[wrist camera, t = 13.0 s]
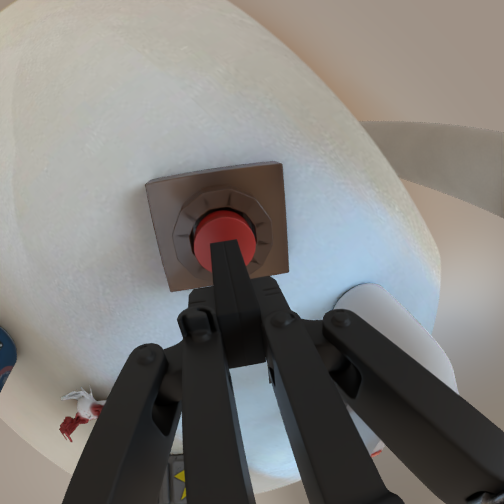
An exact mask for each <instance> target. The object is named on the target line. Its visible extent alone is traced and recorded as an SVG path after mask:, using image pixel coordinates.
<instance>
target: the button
mask: <svg viewBox="0 0 504 504" xmlns="http://www.w3.org/2000/svg"><path fill="white" fill-rule="evenodd" d="M234 239H237V241H238V244H239V247H240V250H241V253H242V256H243V259H244V262H245V265H246V266H247V265H248V264H249V262H250V261H251V260H252V258H253V256H254V253H255V248H256V242H255V237H254V234H253V232H252V230H251V228H250V226H249V224H248V223H247V221H246V220H245V219H244V218H243V217H242V216H240V215H239V214H237V213H235V212H232V211H227V210H221V211H215V212H213V213H210V214H208V215H207V216H206V217H204V218H203V219H202V220H201V221H200V223H199V224H198V226H197V228H196V231H195V237H194V253H195V256H196V258H197V260H198V262H199V263H200V264H201V266H202V267H204V268H205V269H206V270H208V271H210V272H212V265H211V253H210V243H215V242H222V241H228V240H234Z"/></svg>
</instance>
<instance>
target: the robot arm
mask: <svg viewBox="0 0 504 504" xmlns="http://www.w3.org/2000/svg"><path fill="white" fill-rule="evenodd" d="M210 253H211V265H212V276H213V286H210V287H204V288H198V289H193V291H192V292H191V293H190V295H189V302H188V303H189V304H188V308H187V309H185V310H184V311H182V312H181V313H180V314H179V316H178V318H177V321H178V324H179V327H180V330H181V333H182V336H183V340H182V341H181V342H179V343H178V344H176V345H174V346H172V347H169V348H166V349H164V350H163V348H162V347H161V346H159V345H158V344H153V343H149V344H144V345H141V346H138V347H137V348H136V349H134V350H133V351H132V352H131V354H130V355H129V357H128V359H127V361H126V363H125V365H124V367H123V369H122V370H121V372H120V374H119V376H118V378H117V380H116V382H115V384H114V386H113V388H112V390H111V392H110V394H109V396H108V398H107V400H106V402H105V404H104V406H103V408H102V410H101V412H100V415H99V417H98V419H97V421H96V423H95V425H94V427H93V430H92V432H91V434H90V436H89V438H88V441H87V443H86V445H85V447H84V450H83V452H82V454H81V457H80V459H79V461H78V464H77V466H76V469H75V471H74V473H73V476H72V478H71V481H70V484H69V486H68V489H67V491H66V494H65V497H64V499H63V502H62V504H157V502H158V498H159V494H160V490H161V486H162V482H163V478H164V474H165V471H166V467H167V463H168V459H169V455H170V452H171V448H172V444H173V441H174V437H175V433H176V430H177V426H178V423H179V419H180V415H181V412H182V434H183V459H184V475H185V489H186V500H187V504H256V502H255V497H254V493H253V488H252V484H251V479H250V475H249V470H248V465H247V461H246V456H245V451H244V446H243V441H242V436H241V430H240V425H239V420H238V414H237V409H236V403H235V397H234V392H233V386H232V380H231V376H230V372H229V369H231V368H237V367H242V366H248V365H253V364H258V363H263V362H266V360H267V363H268V373H269V384H270V383H272V386H273V389H274V393H275V396H276V399H277V402H278V406H279V409H280V412H281V416H282V419H283V422H284V425H285V429H286V432H287V435H288V438H289V441H290V445H291V448H292V451H293V454H294V457H295V460H296V463H297V467H298V470H299V473H300V476H301V479H302V482H303V485H304V488H305V491H306V494H307V497H308V500H309V503H310V504H404V502H403V500H402V499H401V498H400V497H399V496H398V495H396V494H394V493H392V492H390V491H389V490H388V489H387V488H386V486H385V485H384V483H383V481H382V479H381V477H380V475H379V473H378V470H377V468H376V466H375V464H374V462H373V460H372V458H371V456H370V454H369V452H368V450H367V448H366V446H365V444H364V442H363V440H362V438H361V436H360V434H359V432H358V430H357V428H356V426H355V424H354V422H353V420H352V418H351V416H350V414H349V412H348V410H347V408H346V406H345V404H344V402H343V400H344V401H345V402H346V403H347V404H348V405H349V406H350V407H351V409H352V410H353V411H354V412H355V413H356V414H357V415H358V416H359V417H360V418H361V419H362V420H363V422H364V423H365V424H366V425H367V426H368V427H369V428H370V429H371V430H372V431H373V432H374V433H375V434H376V435H377V436H378V438H379V439H380V440H381V441H382V442H383V443H384V444H385V445H386V446H387V447H388V448H389V449H390V450H391V451H392V452H393V453H394V454H395V455H396V456H397V457H398V458H399V459H400V460H401V461H402V462H403V463H404V464H405V466H406V467H408V469H409V470H410V471H411V472H412V473H414V474H415V476H416V477H417V478H418V479H419V480H420V481H421V482H422V483H423V484H425V486H427V488H428V489H430V490H431V491H432V492H433V493H434V494H435V495H436V496H437V497H438V498H439V499H441V500H442V501H443V502H444V503H446V504H504V432H503V431H502V430H501V429H500V428H498V427H497V426H496V425H495V424H494V423H492V422H491V421H490V420H489V419H488V418H486V417H485V416H484V415H483V414H481V413H480V412H479V411H478V410H477V409H475V408H474V407H473V406H472V405H471V404H469V403H468V402H467V401H466V400H464V399H463V398H462V397H460V396H459V395H458V394H457V393H456V392H455V391H453V390H452V389H451V388H450V387H448V386H447V385H446V384H445V383H443V382H442V381H441V380H440V379H438V378H437V377H436V376H435V375H433V374H432V373H431V372H430V371H428V370H427V369H426V368H425V367H423V366H422V365H421V364H420V363H418V362H417V361H416V360H415V359H413V358H412V357H411V356H410V355H408V354H407V353H406V352H404V351H403V350H402V349H401V348H399V347H398V346H397V345H396V344H394V343H393V342H392V341H390V340H389V339H388V338H387V337H385V336H384V335H383V334H382V333H380V332H379V331H378V330H376V329H375V328H374V327H373V326H371V325H370V324H369V323H367V322H366V321H365V320H364V319H362V318H361V317H360V316H358V315H357V314H356V313H354V312H352V311H350V310H347V309H334V310H331V311H329V312H327V313H326V314H325V315H324V317H323V320H304V319H301V318H300V316H299V315H298V314H297V313H295V312H293V311H291V309H290V307H289V305H288V303H287V301H286V299H285V297H284V295H283V293H282V291H281V289H280V288H279V285H278V283H277V281H276V280H275V279H273V278H272V277H270V276H264V277H258V278H253V279H250V277H249V274H248V271H247V268H246V265H245V262H244V259H243V256H242V253H241V250H240V247H239V244H238V241H237V239H234V240H228V241H222V242H215V243H210ZM342 399H343V400H342Z"/></svg>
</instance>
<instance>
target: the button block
mask: <svg viewBox="0 0 504 504" xmlns="http://www.w3.org/2000/svg"><path fill="white" fill-rule="evenodd" d="M145 187H146V192H147V197H148V202H149V207H150V212H151V216H152V221H153V225H154V230H155V234H156V238H157V243H158V247H159V251H160V255H161V259H162V263H163V266H164V270H165V274H166V278H167V281H168V285H169V288H170V291H171V292H175V291H181V290H188V289H194V288H201V287H207V286H213V276H212V272H210V271H208V270H206V269H205V268H204V267H202V266H201V264H200V263H199V262H198V260H197V258H196V256H195V253H194V237H195V231H196V228H197V226H198V224H199V223H200V221H201V220H202V219H203V218H204V217H206V216H207V215H208V214H210V213H213V212H215V211H221V210H227V211H232V212H235V213H237V214H239V215H240V216H242V217H243V218H244V219H245V220H246V221H247V223H248V224H249V226H250V228H251V230H252V232H253V234H254V237H255V242H256V248H255V253H254V256H253V258H252V260H251V261H250V262H249V264H248V265H247V266H246V268H247V271H248V274H249V277H250V279H253V278H258V277H264V276H272V275H277V274H283V273H288V272H289V260H288V240H287V223H286V207H285V193H284V179H283V166H282V163H279V162H276V161H270V162H260V163H251V164H243V165H235V166H228V167H220V168H214V169H207V170H201V171H195V172H189V173H183V174H177V175H172V176H167V177H162V178H157V179H152V180H150V181H149V182H148V183H146V184H145Z"/></svg>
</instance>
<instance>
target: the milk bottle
mask: <svg viewBox="0 0 504 504" xmlns="http://www.w3.org/2000/svg"><path fill="white" fill-rule="evenodd" d="M334 309H347V310H350V311H352V312H354V313H356V314H357V315H358V316H360V317H361V318H362V319H364V320H365V321H366V322H367V323H369V324H370V325H371V326H373V327H374V328H375V329H376V330H378V331H379V332H380V333H382V334H383V335H384V336H385V337H387V338H388V339H389V340H390V341H392V342H393V343H394V344H396V345H397V346H398V347H399V348H401V349H402V350H403V351H404V352H406V353H407V354H408V355H410V356H411V357H412V358H413V359H415V360H416V361H417V362H418V363H420V364H421V365H422V366H423V367H425V368H426V369H427V370H428V371H430V372H431V373H432V374H433V375H435V376H436V377H437V378H438V379H440V380H441V381H442V382H443V383H445V384H446V385H447V386H448V387H450V388H451V389H452V390H453V391H455V392H456V393H457V394H458V395H459V393H458V389H457V385H456V380H455V376H454V372H453V368H452V365H451V362H450V360H449V358H448V356H447V355H446V353H445V352H444V350H443V349H442V347H441V346H440V345H439V344H438V343H437V342H436V340H435V339H434V338H433V337H432V336H431V335H430V334H429V333H428V331H427V330H426V329H425V328H424V327H423V326H422V325H421V324H420V323H419V322H418V321H417V320H416V319H415V318H414V317H413V316H412V315H411V314H410V313H409V312H408V311H407V310H406V309H405V308H404V307H403V306H402V305H401V304H400V303H399V302H398V301H397V300H396V299H395V298H394V297H393V296H392V295H391V294H390V293H389V292H388V291H387V290H385V289H384V288H383V287H382V286H380V285H378V284H373V283H365V284H361V285H358V286H356V287H354V288H352V289H351V290H349V291H348V292H347V293H345V294H344V295H343V296H342V297H341V298H340V299H339V301H338V302H337V303H336V305H335V307H334ZM334 309H333V310H334Z"/></svg>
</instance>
